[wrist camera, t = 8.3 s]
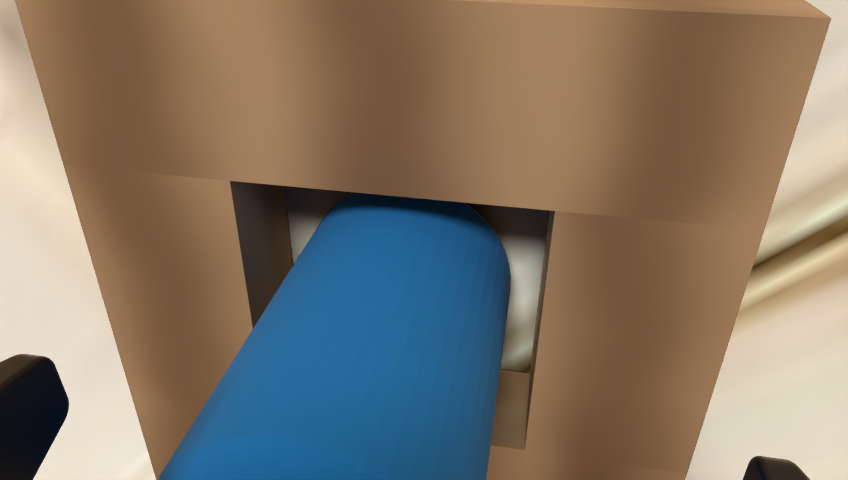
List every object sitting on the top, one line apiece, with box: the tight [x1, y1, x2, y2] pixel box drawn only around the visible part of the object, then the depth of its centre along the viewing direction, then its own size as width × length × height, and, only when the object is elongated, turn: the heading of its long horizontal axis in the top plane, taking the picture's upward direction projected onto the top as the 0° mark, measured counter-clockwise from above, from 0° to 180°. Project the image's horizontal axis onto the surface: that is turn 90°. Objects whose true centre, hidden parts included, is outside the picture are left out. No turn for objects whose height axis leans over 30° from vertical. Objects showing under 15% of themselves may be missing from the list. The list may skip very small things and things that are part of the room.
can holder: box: [15, 0, 831, 480], centre depth 21 cm, size 18×18×4 cm
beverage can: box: [158, 192, 511, 480], centre depth 17 cm, size 6×6×12 cm
